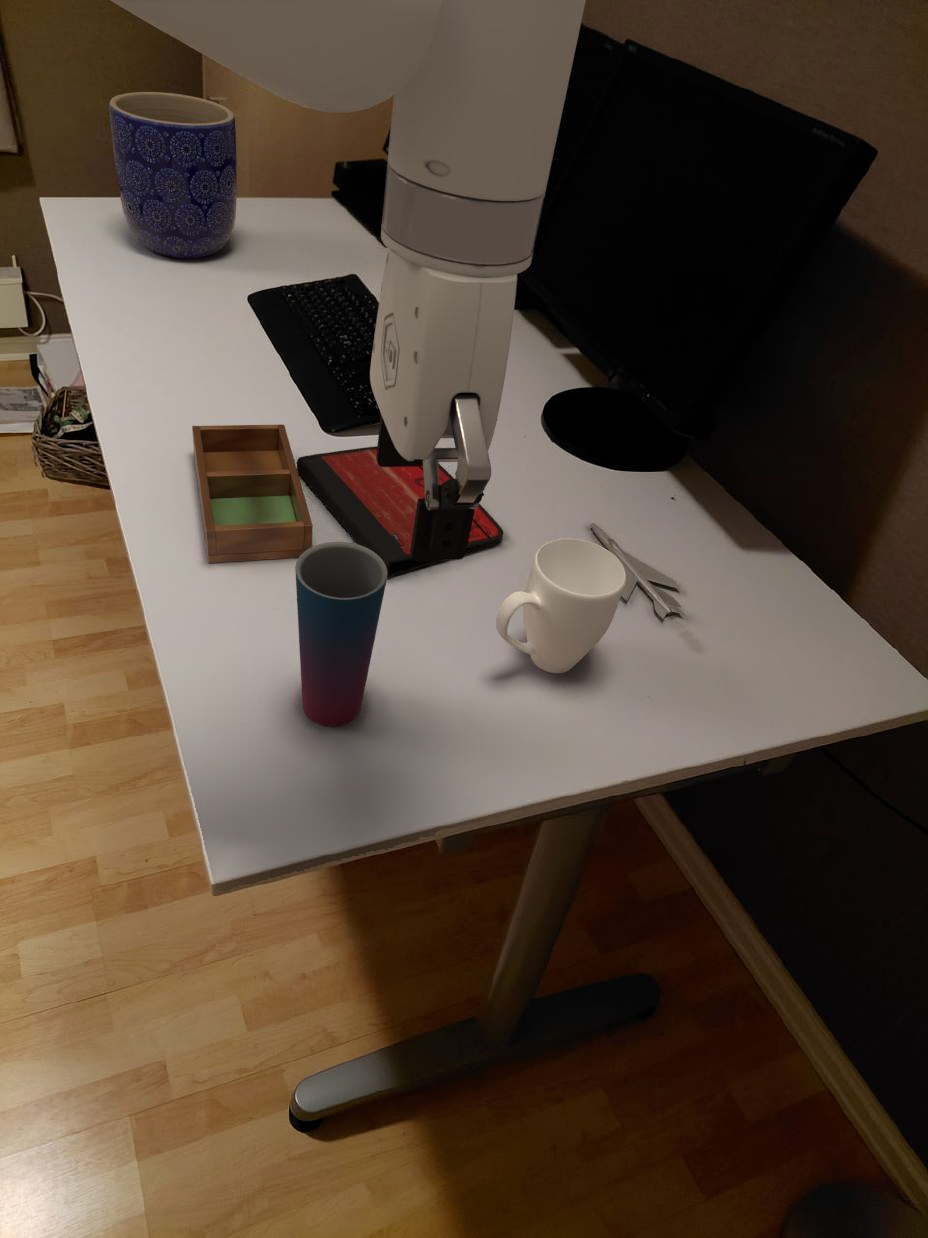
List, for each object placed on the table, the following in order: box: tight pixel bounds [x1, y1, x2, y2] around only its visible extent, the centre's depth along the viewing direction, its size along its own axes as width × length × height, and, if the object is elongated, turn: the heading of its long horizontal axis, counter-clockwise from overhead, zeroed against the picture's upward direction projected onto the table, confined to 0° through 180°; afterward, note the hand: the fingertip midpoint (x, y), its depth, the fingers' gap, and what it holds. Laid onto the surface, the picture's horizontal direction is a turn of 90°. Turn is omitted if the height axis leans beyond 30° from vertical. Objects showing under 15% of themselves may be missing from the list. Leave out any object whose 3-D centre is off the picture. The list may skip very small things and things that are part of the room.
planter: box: [108, 91, 238, 259], centre depth 135 cm, size 18×18×21 cm
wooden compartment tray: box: [191, 424, 314, 564], centre depth 91 cm, size 10×20×4 cm, turn 17°
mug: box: [495, 537, 626, 674], centre depth 77 cm, size 12×8×11 cm
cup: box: [294, 541, 388, 727], centre depth 68 cm, size 7×7×15 cm
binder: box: [296, 445, 504, 579], centre depth 95 cm, size 16×2×21 cm
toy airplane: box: [590, 522, 699, 646], centre depth 91 cm, size 8×21×2 cm, turn 25°
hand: (417, 508), depth 52 cm, fingers open, 9 cm apart
